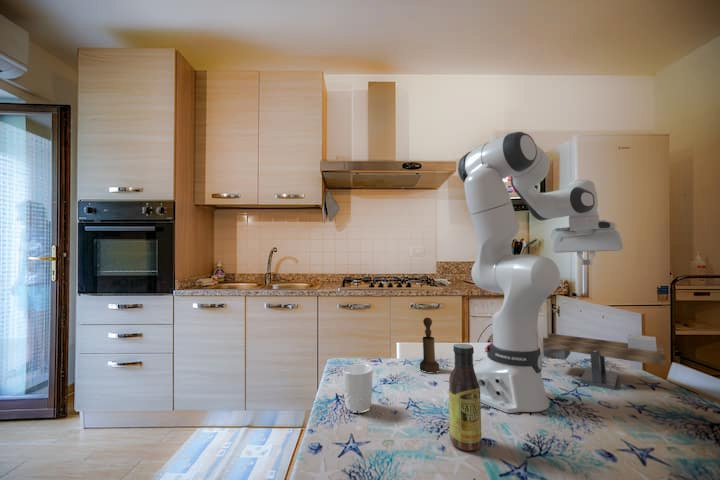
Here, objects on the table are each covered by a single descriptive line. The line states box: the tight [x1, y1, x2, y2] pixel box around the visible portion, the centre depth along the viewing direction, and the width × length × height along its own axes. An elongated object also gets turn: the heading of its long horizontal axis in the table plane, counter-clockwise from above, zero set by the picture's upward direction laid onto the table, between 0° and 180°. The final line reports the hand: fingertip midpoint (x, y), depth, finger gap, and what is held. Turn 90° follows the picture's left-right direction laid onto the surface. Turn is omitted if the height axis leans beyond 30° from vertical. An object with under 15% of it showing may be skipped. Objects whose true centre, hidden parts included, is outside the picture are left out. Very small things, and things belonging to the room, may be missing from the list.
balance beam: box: [542, 332, 667, 367], centre depth 96 cm, size 29×10×7 cm, turn 47°
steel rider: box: [626, 333, 657, 353], centre depth 89 cm, size 6×6×4 cm
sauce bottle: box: [448, 343, 482, 452], centre depth 65 cm, size 7×6×20 cm
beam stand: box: [579, 351, 619, 390], centre depth 96 cm, size 8×14×10 cm, turn 137°
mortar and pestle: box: [419, 317, 440, 372], centre depth 108 cm, size 7×6×18 cm
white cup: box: [342, 363, 373, 411], centre depth 81 cm, size 8×8×10 cm
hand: (587, 264), depth 109 cm, fingers closed
